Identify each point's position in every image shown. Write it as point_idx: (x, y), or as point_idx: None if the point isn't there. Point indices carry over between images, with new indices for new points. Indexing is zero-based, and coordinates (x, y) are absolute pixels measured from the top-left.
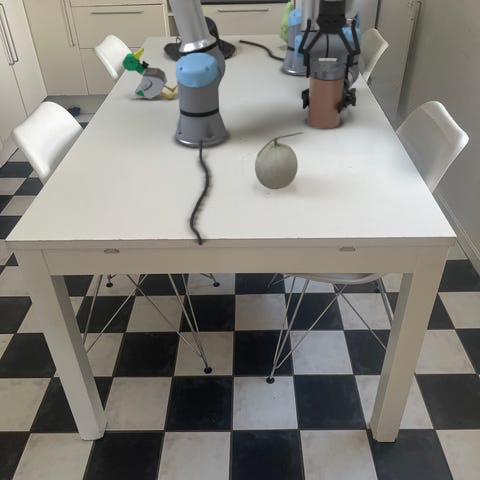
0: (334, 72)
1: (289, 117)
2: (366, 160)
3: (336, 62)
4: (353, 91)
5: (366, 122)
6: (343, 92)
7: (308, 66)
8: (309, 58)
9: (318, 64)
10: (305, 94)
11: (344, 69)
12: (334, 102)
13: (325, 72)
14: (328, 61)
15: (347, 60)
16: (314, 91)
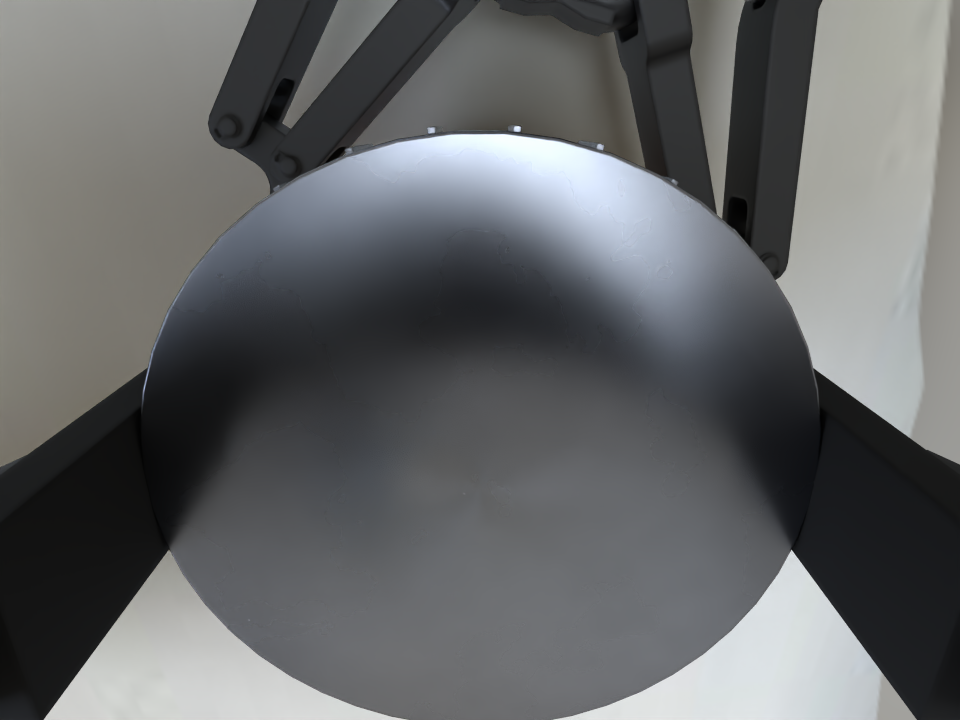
0: (583, 697)
1: (216, 190)
2: (691, 691)
3: (658, 262)
4: (798, 54)
5: (794, 226)
6: (677, 105)
7: (146, 562)
8: (67, 674)
9: (299, 418)
10: (267, 168)
11: (752, 599)
12: None
13: (453, 715)
14: (487, 195)
15: (881, 662)
16: None
